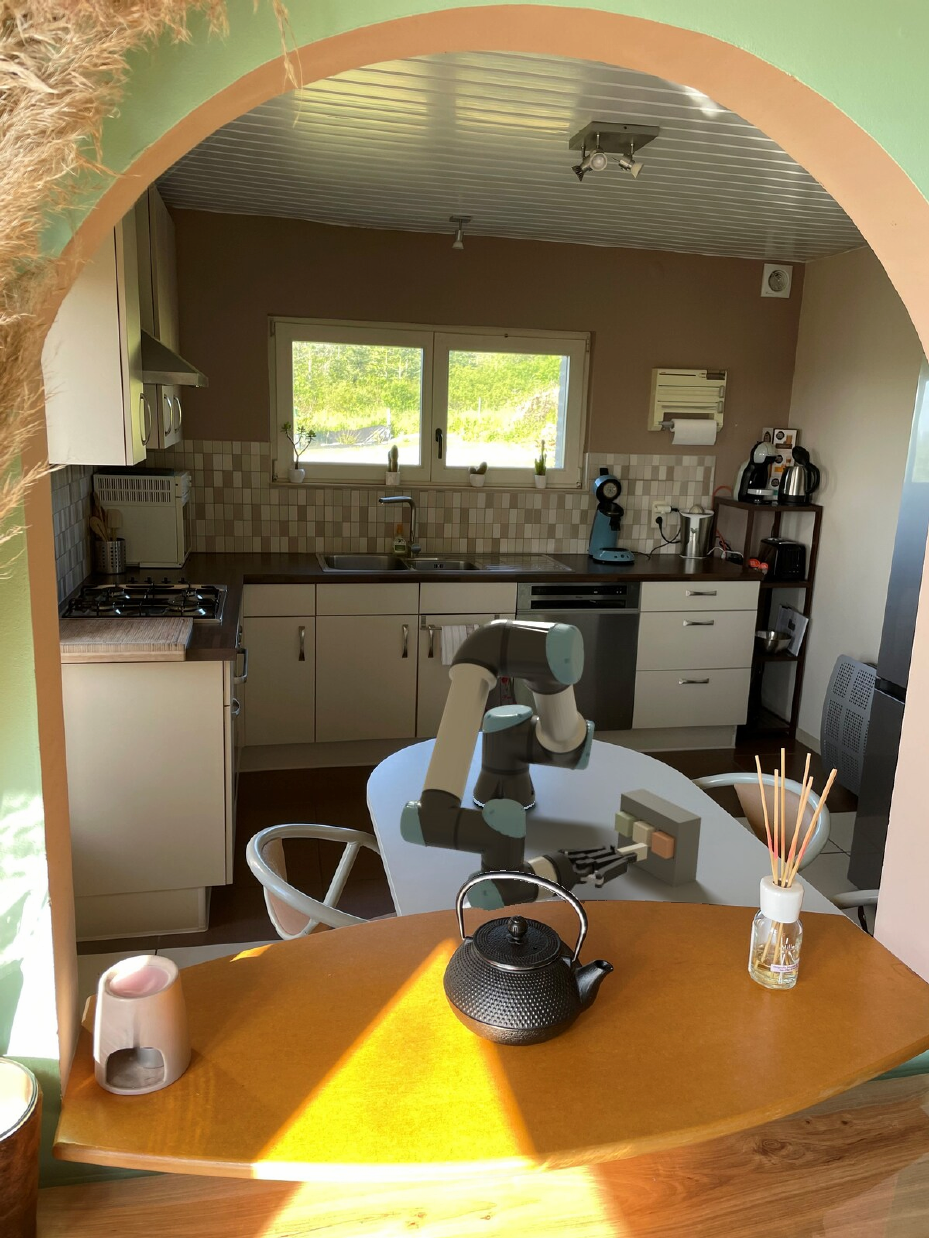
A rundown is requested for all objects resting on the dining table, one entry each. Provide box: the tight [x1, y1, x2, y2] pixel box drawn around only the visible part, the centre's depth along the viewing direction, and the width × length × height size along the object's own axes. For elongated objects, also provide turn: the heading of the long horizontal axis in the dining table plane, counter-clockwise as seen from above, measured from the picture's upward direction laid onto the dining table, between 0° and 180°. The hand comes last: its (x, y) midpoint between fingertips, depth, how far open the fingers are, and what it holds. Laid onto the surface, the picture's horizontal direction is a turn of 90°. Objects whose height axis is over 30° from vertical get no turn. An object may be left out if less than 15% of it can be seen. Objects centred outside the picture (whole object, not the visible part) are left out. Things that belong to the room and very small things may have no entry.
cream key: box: [632, 820, 656, 847], centre depth 189 cm, size 4×4×4 cm
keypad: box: [616, 788, 702, 887], centre depth 191 cm, size 17×6×14 cm, turn 31°
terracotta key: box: [651, 831, 675, 859], centre depth 184 cm, size 4×4×4 cm
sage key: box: [613, 811, 637, 837], centre depth 193 cm, size 4×4×4 cm
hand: (644, 850), depth 181 cm, fingers closed
